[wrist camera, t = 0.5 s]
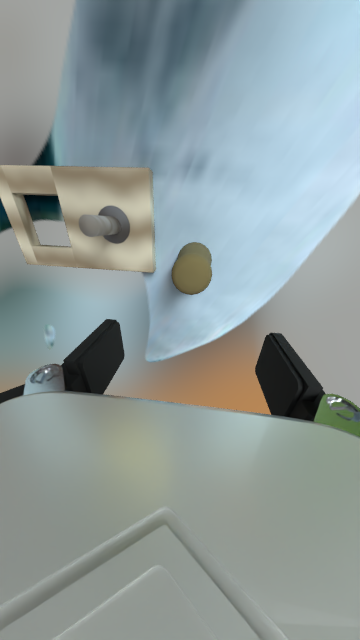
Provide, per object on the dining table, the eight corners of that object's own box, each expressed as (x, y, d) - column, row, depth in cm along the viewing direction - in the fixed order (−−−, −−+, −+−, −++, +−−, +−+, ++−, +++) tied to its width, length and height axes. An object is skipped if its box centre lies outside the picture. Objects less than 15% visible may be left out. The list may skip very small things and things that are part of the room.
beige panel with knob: (1, 168, 26) (-83, 145, 18) (152, 171, 24) (129, 147, 17) (36, 261, 33) (-15, 273, 25) (155, 269, 31) (140, 285, 24)
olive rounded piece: (205, 281, 31) (206, 306, 22) (173, 272, 31) (161, 293, 22) (216, 248, 28) (224, 260, 19) (182, 237, 28) (172, 244, 19)
